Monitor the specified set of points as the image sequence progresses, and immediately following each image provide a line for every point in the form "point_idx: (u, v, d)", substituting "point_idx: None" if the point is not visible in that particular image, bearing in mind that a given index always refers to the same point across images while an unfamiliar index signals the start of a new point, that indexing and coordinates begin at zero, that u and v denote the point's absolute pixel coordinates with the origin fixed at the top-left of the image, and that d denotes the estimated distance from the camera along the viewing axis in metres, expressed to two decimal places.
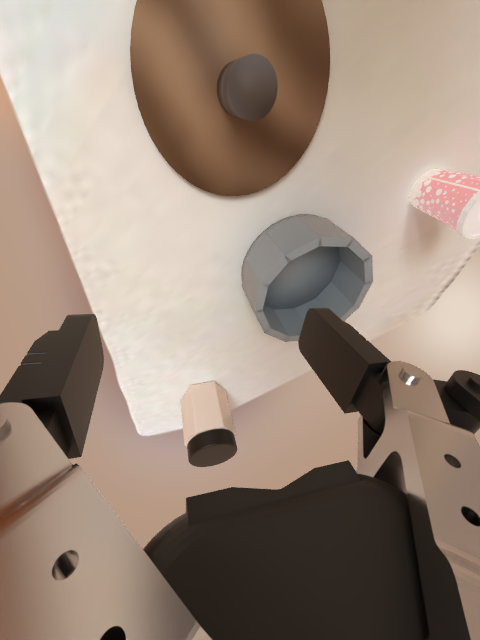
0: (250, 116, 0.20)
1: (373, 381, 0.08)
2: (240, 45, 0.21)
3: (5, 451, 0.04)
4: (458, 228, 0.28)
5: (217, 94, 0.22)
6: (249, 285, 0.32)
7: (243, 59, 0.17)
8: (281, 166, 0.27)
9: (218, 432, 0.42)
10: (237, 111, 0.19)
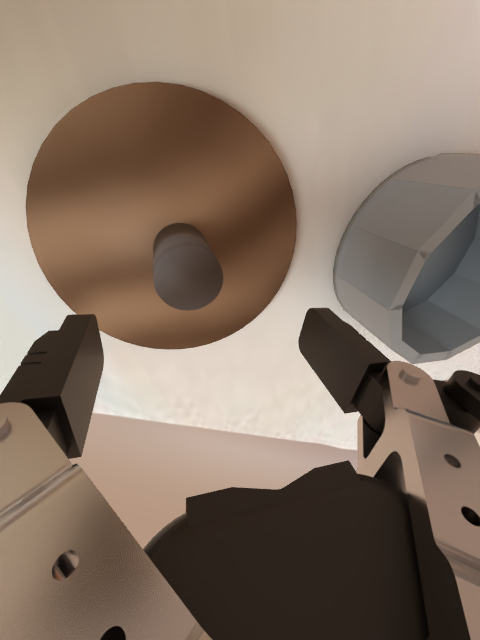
0: (214, 293, 0.14)
1: (373, 381, 0.08)
2: (142, 229, 0.16)
3: (6, 451, 0.04)
4: None
5: None
6: None
7: (155, 283, 0.13)
8: (284, 224, 0.19)
9: None
10: (201, 306, 0.15)
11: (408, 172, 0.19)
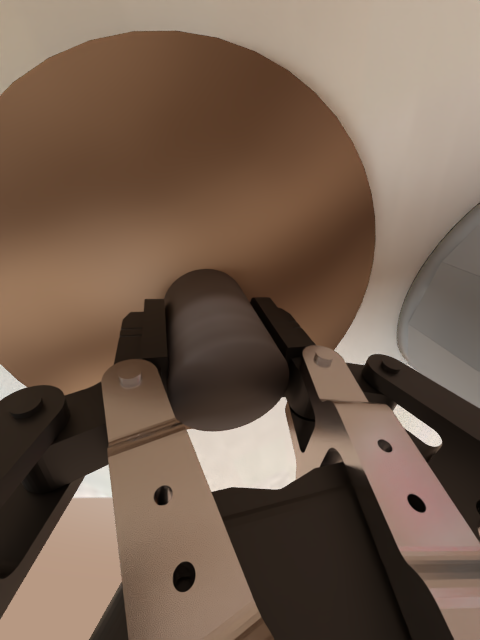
0: (270, 402, 0.08)
1: (293, 365, 0.08)
2: (147, 281, 0.10)
3: (136, 395, 0.05)
4: None
5: None
6: None
7: (171, 402, 0.07)
8: (356, 264, 0.13)
9: None
10: (246, 422, 0.09)
11: None
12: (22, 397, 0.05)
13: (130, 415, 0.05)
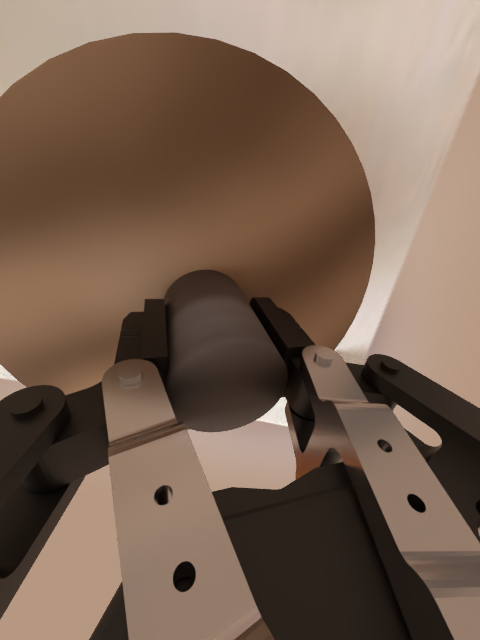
0: (269, 403, 0.08)
1: (293, 365, 0.08)
2: (146, 282, 0.10)
3: (136, 395, 0.05)
4: None
5: None
6: None
7: None
8: (356, 265, 0.12)
9: None
10: (245, 423, 0.09)
11: None
12: (22, 397, 0.05)
13: (130, 415, 0.05)
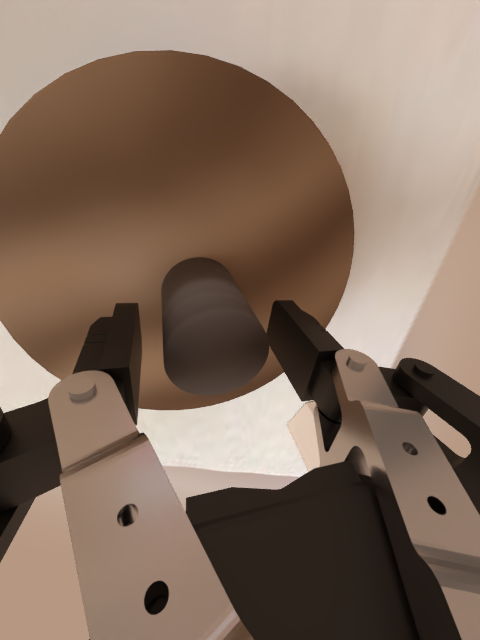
0: (253, 370, 0.09)
1: (324, 368, 0.08)
2: (146, 268, 0.11)
3: (90, 410, 0.05)
4: None
5: None
6: None
7: (166, 366, 0.08)
8: (337, 255, 0.14)
9: None
10: (233, 388, 0.10)
11: None
12: None
13: (73, 436, 0.05)
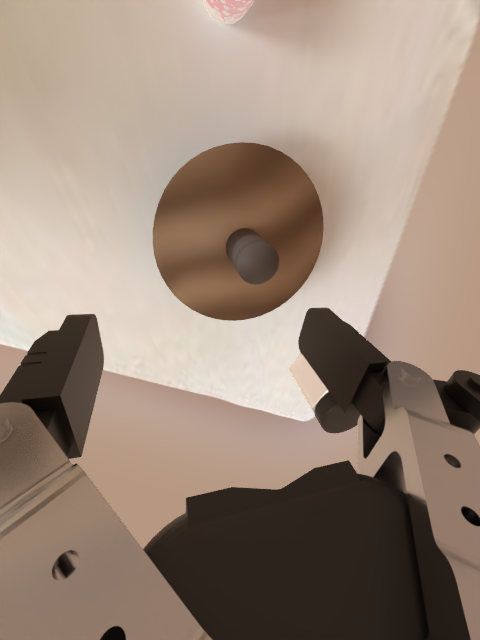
0: (272, 273, 0.22)
1: (373, 381, 0.08)
2: (221, 232, 0.24)
3: (5, 451, 0.04)
4: None
5: None
6: None
7: (238, 265, 0.21)
8: (314, 229, 0.26)
9: (328, 396, 0.39)
10: (263, 282, 0.22)
11: None
12: None
13: None
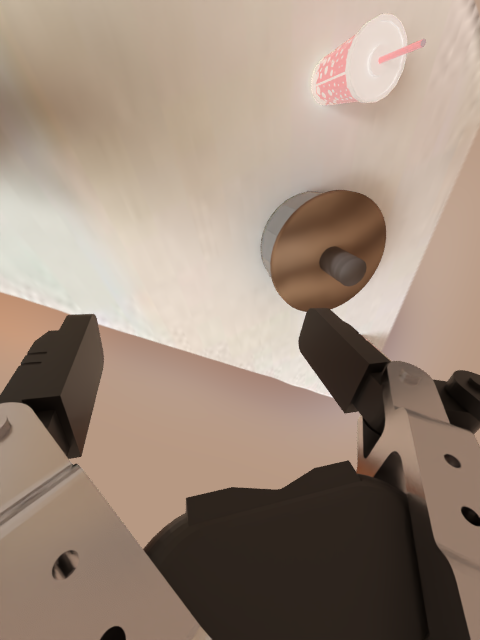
0: (360, 278, 0.33)
1: (373, 381, 0.08)
2: (318, 249, 0.34)
3: (5, 451, 0.04)
4: None
5: (325, 271, 0.36)
6: None
7: (341, 274, 0.31)
8: (379, 246, 0.37)
9: None
10: (353, 284, 0.33)
11: (290, 201, 0.37)
12: None
13: None
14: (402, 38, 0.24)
